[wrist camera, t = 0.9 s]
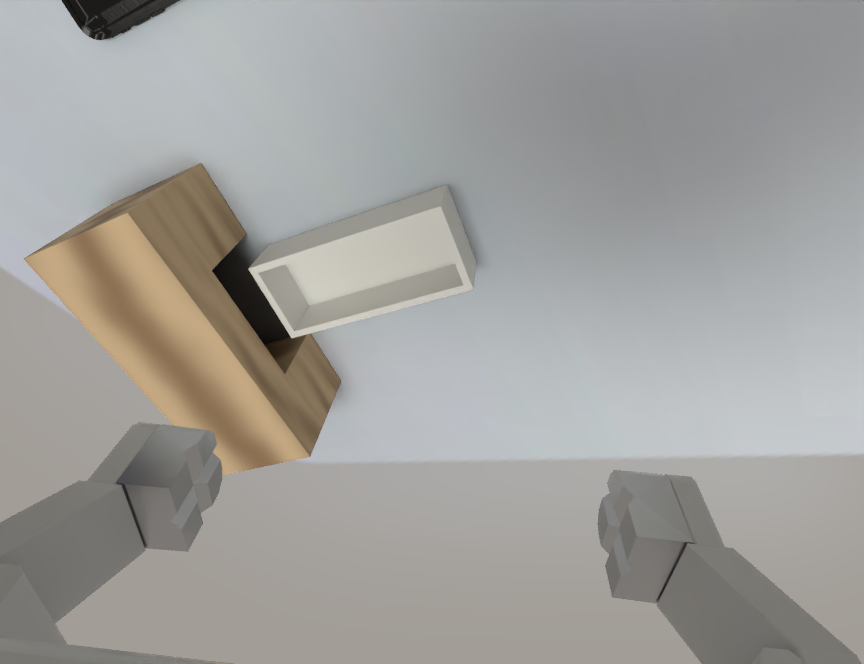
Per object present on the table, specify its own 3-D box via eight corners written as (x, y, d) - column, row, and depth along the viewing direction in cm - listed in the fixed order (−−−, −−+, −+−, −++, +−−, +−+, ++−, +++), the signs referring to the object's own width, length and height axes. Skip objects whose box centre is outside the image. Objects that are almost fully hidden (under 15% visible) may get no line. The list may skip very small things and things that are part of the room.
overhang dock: (201, 163, 36) (127, 212, 29) (340, 381, 46) (310, 456, 39) (110, 204, 39) (23, 258, 32) (260, 402, 49) (218, 476, 42)
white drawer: (447, 182, 35) (440, 205, 32) (477, 261, 38) (473, 289, 35) (270, 242, 40) (247, 268, 36) (308, 309, 43) (291, 338, 39)
